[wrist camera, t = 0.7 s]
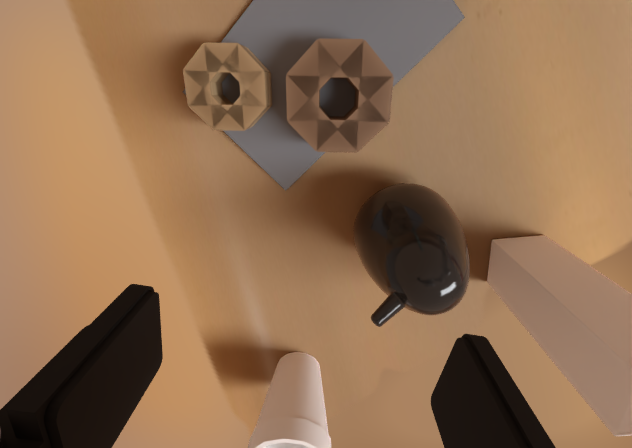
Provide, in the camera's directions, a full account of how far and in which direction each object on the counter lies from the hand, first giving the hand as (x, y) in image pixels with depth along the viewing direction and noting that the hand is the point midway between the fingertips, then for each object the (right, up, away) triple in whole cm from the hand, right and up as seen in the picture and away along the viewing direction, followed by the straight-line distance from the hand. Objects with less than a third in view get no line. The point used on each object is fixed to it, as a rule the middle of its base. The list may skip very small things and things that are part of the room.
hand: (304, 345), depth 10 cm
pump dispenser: (+9, +5, +26) cm, 28 cm away
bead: (+2, +16, +21) cm, 26 cm away
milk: (+24, 0, +28) cm, 37 cm away
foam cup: (-2, -17, +36) cm, 40 cm away
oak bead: (-7, +17, +21) cm, 28 cm away
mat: (0, +20, +20) cm, 28 cm away
